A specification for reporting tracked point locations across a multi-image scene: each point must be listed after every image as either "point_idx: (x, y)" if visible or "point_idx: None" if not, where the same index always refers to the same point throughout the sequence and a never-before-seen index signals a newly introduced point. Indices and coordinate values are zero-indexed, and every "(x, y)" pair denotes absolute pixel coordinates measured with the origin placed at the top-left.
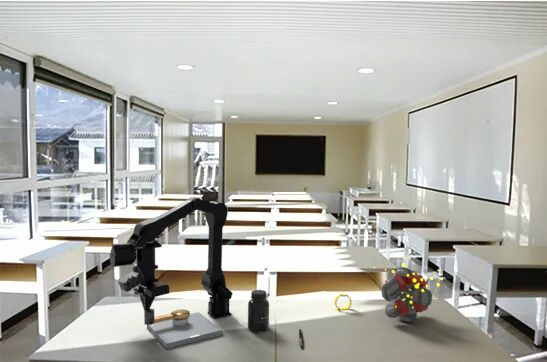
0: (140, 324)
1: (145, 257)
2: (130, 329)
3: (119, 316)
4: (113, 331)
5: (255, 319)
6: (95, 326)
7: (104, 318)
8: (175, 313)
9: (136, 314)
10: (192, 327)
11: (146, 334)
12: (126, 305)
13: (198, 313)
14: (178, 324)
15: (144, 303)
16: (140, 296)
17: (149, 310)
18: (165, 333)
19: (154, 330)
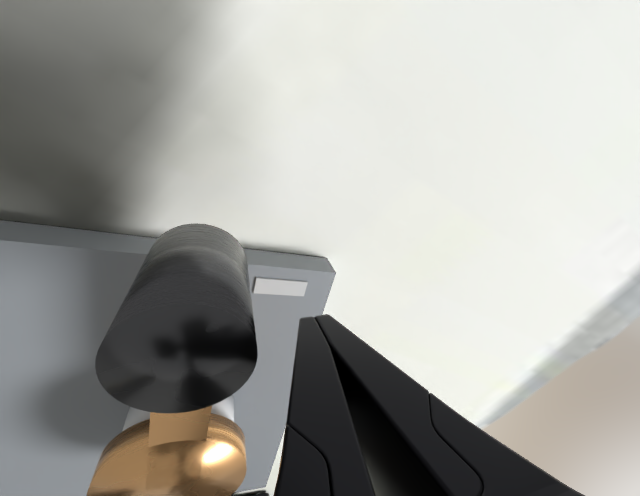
0: (395, 251)
1: None
2: (384, 175)
3: (558, 215)
4: (448, 70)
5: None
6: (601, 30)
7: (613, 144)
8: (182, 463)
9: (502, 284)
10: (63, 446)
11: (234, 213)
12: (598, 289)
13: (251, 485)
14: None
15: (312, 402)
16: (490, 484)
17: (174, 364)
18: (53, 299)
19: None
